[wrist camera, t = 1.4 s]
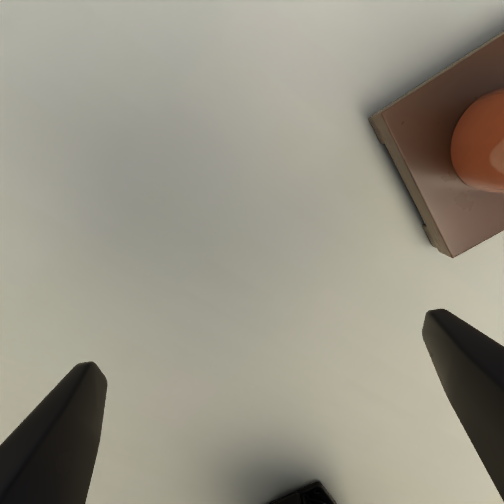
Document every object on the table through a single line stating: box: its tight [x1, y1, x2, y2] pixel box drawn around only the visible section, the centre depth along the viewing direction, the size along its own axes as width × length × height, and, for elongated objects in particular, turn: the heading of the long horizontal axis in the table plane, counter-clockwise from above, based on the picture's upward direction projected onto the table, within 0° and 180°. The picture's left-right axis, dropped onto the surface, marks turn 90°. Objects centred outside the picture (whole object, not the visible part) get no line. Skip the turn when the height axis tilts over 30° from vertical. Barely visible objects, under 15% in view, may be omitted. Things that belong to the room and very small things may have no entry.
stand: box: [369, 31, 504, 258], centre depth 20 cm, size 10×10×2 cm
